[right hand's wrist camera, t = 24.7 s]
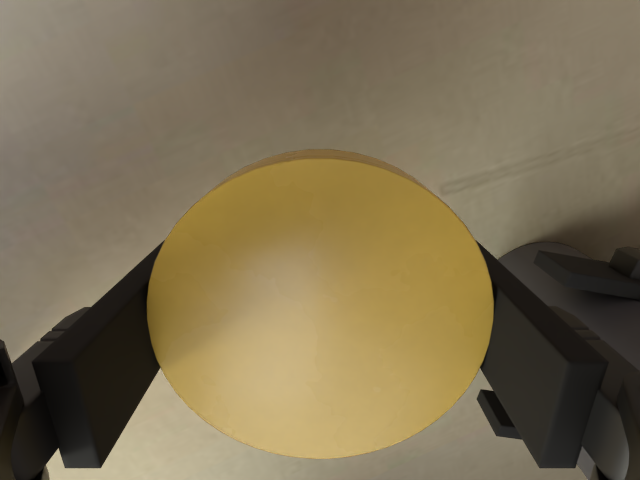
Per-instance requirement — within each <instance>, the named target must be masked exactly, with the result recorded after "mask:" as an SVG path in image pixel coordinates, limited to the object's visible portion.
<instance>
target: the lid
mask: <svg viewBox="0 0 640 480" xmlns="http://www.w3.org/2000/svg"><path fill="white" fill-rule="evenodd" d="M493 317H494V298H493V290H492V282H491V279H490V275H489V272H488V268H487V265H486V261H485V259H484V257H483V255H482V253H481V251H480V248H479V246H478V244H477V242H476V241H475V239H474V238H473V236H472V235H471V233H470V232H469V230H468V229H467V227H466V226H465V224H464V223H463V222H462V221H461V220H460V218H459V217H458V216H457V215H456V214H455V213H454V212H453V211H452V210H451V209H450V208H449V206H447V205H446V204H445V203H444V202H443V201H441V200H440V199H439V198H438V197H437V196H436V195H434V194H433V193H432V192H431V191H430V190H428V189H427V188H426V187H425V186H423V185H422V184H421V183H420V182H419V181H417V180H416V179H415V178H413V177H412V176H410V175H408V174H407V173H405V172H403V171H402V170H400V169H398V168H397V167H395V166H392V165H390V164H388V163H385V162H383V161H381V160H378V159H376V158H372V157H369V156H365V155H361V154H358V153H354V152H347V151H339V150H332V149H309V150H301V151H294V152H286V153H283V154H279V155H275V156H272V157H268V158H264V159H262V160H260V161H257V162H255V163H253V164H250V165H248V166H246V167H244V168H242V169H240V170H239V171H237V172H235V173H234V174H232V175H230V176H229V177H227V178H226V179H224V180H223V181H222V182H221V183H219V184H218V185H217V186H216V187H215V188H213V189H212V190H211V191H210V192H208V193H207V194H206V195H205V196H204V197H202V198H201V199H200V200H199V201H198V202H197V203H195V204H194V205H193V206H192V207H191V208H190V209H189V210H188V211H187V212H186V213H185V215H184V216H183V217H182V218H181V219H180V220H179V221H178V222H177V223H176V225H175V226H174V228H173V229H172V231H171V232H170V234H169V235H168V237H167V238H166V240H165V241H164V243H163V245H162V247H161V249H160V252H159V254H158V256H157V258H156V260H155V263H154V266H153V270H152V273H151V277H150V280H149V286H148V294H147V322H148V327H149V333H150V338H151V343H152V347H153V350H154V353H155V356H156V359H157V361H158V363H159V365H160V367H161V369H162V371H163V373H164V375H165V377H166V378H167V380H168V381H169V383H170V384H171V386H172V387H173V389H174V390H175V392H176V393H177V394H178V395H179V396H180V397H181V399H182V400H183V401H184V402H185V403H186V404H187V405H188V407H190V408H191V409H192V410H193V411H194V412H195V413H196V414H197V415H199V416H200V417H201V418H202V419H203V420H204V421H206V422H207V423H209V424H210V425H212V426H213V427H214V428H216V429H217V430H219V431H221V432H222V433H224V434H226V435H228V436H230V437H231V438H233V439H235V440H237V441H240V442H242V443H244V444H247V445H249V446H252V447H254V448H257V449H261V450H264V451H267V452H271V453H275V454H280V455H285V456H290V457H299V458H309V459H331V458H342V457H351V456H356V455H361V454H366V453H370V452H373V451H377V450H380V449H383V448H387V447H389V446H391V445H394V444H396V443H399V442H401V441H403V440H406V439H407V438H409V437H411V436H413V435H415V434H417V433H418V432H420V431H422V430H423V429H425V428H426V427H428V426H429V425H430V424H432V423H433V422H435V421H436V420H438V419H439V418H440V417H441V416H442V415H443V414H444V413H445V412H447V411H448V410H449V409H450V408H451V407H452V406H453V405H454V404H455V403H456V402H457V400H458V399H459V398H460V397H461V396H462V395H463V394H464V392H465V391H466V390H467V388H468V387H469V385H470V384H471V382H472V381H473V379H474V378H475V376H476V374H477V372H478V370H479V368H480V366H481V364H482V362H483V360H484V357H485V354H486V351H487V349H488V346H489V341H490V335H491V330H492V324H493Z"/></svg>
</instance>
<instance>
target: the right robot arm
mask: <svg viewBox="0 0 640 480" xmlns="http://www.w3.org/2000/svg"><path fill="white" fill-rule="evenodd" d="M164 241H165V240H164ZM164 241H163V242H162V243H161V244H160V245H159V246H158V247H156V248H155V249H154V250H153V251H152V252H151V253H150V254H149V255H148V256H147V257H146V258H144V259H143V260H142V261H141V262H140V263H139V264H138V265H137V266H136V267H135V268H134V269H132V270H131V271H130V272H129V273H128V274H127V275H126V276H125V277H124V278H123V279H121V280H120V281H119V282H118V283H117V284H116V285H115V286H114V287H113V288H112V289H111V290H109V291H108V292H107V293H106V294H105V295H104V296H103V297H102V298H101V299H100V300H99V301H97V302H96V303H95V304H94V305H93V306H92V307H84V308H82V309H80V310H78V311H76V312H75V313H73V314H71V315H69V316H67V317H65V318H64V319H63V320H62V321H61V322H59V323H58V324H57V325H56V326H55V327H54V328H52V331H49V332H48V333H47V334H46V335H44V336H43V337H42V338H41V340H40V341H37V342H36V343H35V344H34V345H33V346H32V347H30V348H29V349H28V350H27V351H26V352H25V353H23V354H22V355H21V356H20V357H19V358H18V359H16V360H15V361H14V362H13V363H12V364H11V361H10V358H9V355H8V352H7V349H6V346H5V343H4V341H2V340H0V480H49V473H48V470H47V467H46V464H47V462H48V461H49V460H50V458H51V457H52V456H53V454H54V453H55V452H56V450H57V449H58V448H59V451H60V454H61V457H62V460H63V463H64V466H65V468H101V467H102V465H103V463H104V462H105V460H106V458H107V457H108V455H109V453H110V452H111V450H112V448H113V447H114V445H115V443H116V442H117V440H118V438H119V436H120V435H121V433H122V431H123V430H124V428H125V426H126V425H127V423H128V421H129V420H130V418H131V416H132V414H133V413H134V411H135V409H136V408H137V406H138V404H139V403H140V401H141V399H142V398H143V396H144V394H145V393H146V391H147V389H148V387H149V386H150V384H151V382H152V381H153V379H154V377H155V376H156V374H157V372H158V371H159V369H160V365H159V363H158V361H157V359H156V356H155V353H154V350H153V347H152V343H151V338H150V333H149V327H148V322H147V294H148V286H149V280H150V277H151V273H152V270H153V266H154V263H155V260H156V258H157V256H158V254H159V252H160V249H161V247H162V245H163V243H164ZM475 241H476V240H475ZM476 242H477V241H476ZM477 244H478V246H479V248H480V251H481V253H482V255H483V257H484V259H485V261H486V265H487V268H488V272H489V275H490V279H491V282H492V290H493V298H494V317H493V324H492V330H491V335H490V341H489V346H488V349H487V351H486V354H485V357H484V360H483V362H482V364H481V366H480V368H481V370H482V372H483V374H484V375H485V377H486V379H487V380H488V382H489V384H490V385H491V387H492V389H493V390H494V392H495V394H496V396H497V397H498V399H499V401H500V402H501V404H502V406H503V407H504V409H505V411H506V412H507V414H508V416H509V417H510V419H511V421H512V423H513V424H514V426H515V428H516V429H517V431H518V433H519V434H520V436H521V438H522V439H523V441H524V443H525V444H526V446H527V448H528V450H529V451H530V453H531V455H532V456H533V458H534V460H535V461H536V463H537V465H538V466H539V468H575V467H576V464H577V461H578V458H579V455H580V452H581V448H582V447H583V448H584V449H585V450H586V452H587V453H588V454H589V456H590V457H591V458H592V460H593V461H594V462H595V464H594V467H593V470H592V473H591V476H590V479H589V480H640V371H639V370H638V369H637V368H635V367H634V366H633V365H632V364H631V363H630V362H628V361H627V360H626V359H625V358H624V357H623V356H621V355H620V354H619V353H618V352H617V351H616V350H614V349H613V348H612V347H611V346H610V345H609V344H607V343H606V342H605V341H604V340H601V339H600V337H599V336H598V335H597V334H596V333H595V332H593V331H592V330H589V327H588V326H586V325H585V324H584V323H583V322H582V321H580V320H579V319H578V318H577V317H576V316H574V315H572V314H571V313H569V312H567V311H565V310H563V309H561V308H559V307H557V306H547V305H546V304H545V303H544V302H543V301H542V300H541V299H540V298H538V297H537V296H536V295H535V294H534V293H533V292H532V291H531V290H530V289H529V288H528V287H526V286H525V285H524V284H523V283H522V282H521V281H520V280H519V279H518V278H517V277H516V276H514V275H513V274H512V273H511V272H510V271H509V270H508V269H507V268H506V267H505V266H503V265H502V264H501V263H500V262H499V261H498V260H497V259H496V258H495V257H494V256H493V255H491V254H490V253H489V252H488V251H487V250H486V249H485V248H484V247H483V246H482V245H480V244H479V243H478V242H477Z"/></svg>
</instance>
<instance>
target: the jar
mask: <svg viewBox="0 0 640 480" xmlns="http://www.w3.org/2000/svg"><path fill="white" fill-rule="evenodd" d="M538 250H541V251H547V252H553V253H558V254H564V255H569V256H575V257H581V258H586V259H591V258H590V257H588V256H586V255H584V254H583V253H581V252H579V251H578V250H576V249H574V248H572V247H570V246H567V245H565V244H560V243H554V242H539V243H533V244H529V245H525V246H522V247H519V248H517V249H515V250H513V251H511V252H509V253H507V254H506V255H504V256H503V257H501V258H500V259H499V260H498V261H499V262H500V263H501V264H502V265H503V266H505V267H506V268H507V269H508V270H509V271H510V272H511V273H512V274H513V275H514V276H516V277H517V278H518V279H519V280H520V281H521V282H522V283H523V284H524V285H525V286H526V287H528V288H529V289H530V290H531V291H532V292H533V293H534V294H535V295H536V296H537V297H538V298H540V299H541V300H542V301H543V302H544V303H545V304H546V305H547V306H557V307H559V308H561V309H563V310H565V311H567V312H569V313H571V314H572V315H574V316H576V317H577V318H578V319H579V320H580V321H582V322H583V323H584V324H585V325H586V326H588V327H589V330H592V331H593V332H595V333H596V334H597V335H598V336H599V337H600V339H601V340H604V341H605V342H606V343H607V344H609V345H610V346H611V347H612V348H613V349H614V350H616V351H617V352H618V353H619V354H620V355H621V356H623V357H624V358H625V359H626V360H627V361H628V362H630V363H631V364H632V365H633V366H634V367H635V368H637V369H638V370H639V371H640V300H638V299H632V298H626V297H620V296H615V295H609V294H603V293H597V292H591V291H586V290H580V289H574V288H568V287H564V286H563V285H561V284H560V283H559V282H558V281H556V280H555V279H554V278H552V277H551V276H550V275H548V274H547V273H546V272H544V271H543V270H542V269H540V268H539V267H538V266H536V265H535V264H534V263H533V262H534V260H535V258H536V255H537V253H538ZM592 260H593V259H592ZM594 464H595V462H594V461H593V460H592V458H591V457H590V456H589V454H588V453H587V452H586V450H585V449H584V448H583V447H582V448H581V452H580V455H579V458H578V461H577V465H578V466H579V468H580V469H581V470H582V472H583V473H584V475H585V476H586V477H587V479H588V480H589V479H590V476H591V473H592V470H593V467H594Z"/></svg>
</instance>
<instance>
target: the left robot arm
mask: <svg viewBox="0 0 640 480" xmlns="http://www.w3.org/2000/svg"><path fill="white" fill-rule="evenodd" d="M533 263H534V264H535V265H536V266H538V267H539V268H540V269H542V270H543V271H544V272H546V273H547V274H548V275H550V276H551V277H552V278H554V279H555V280H556V281H558V282H559V283H560V284H561V285H563V286H564V287H568V288H574V289H580V290H586V291H591V292H597V293H603V294H609V295H615V296H620V297H626V298H632V299H638V300H640V249H636V248H631V247H624V248H619V249H616V251H615V253H614V255H613V257H612V259H611V261H610V263H609V262H603V261H597V260H592V259H586V258H581V257H575V256H569V255H564V254H558V253H553V252H547V251H541V250H538V253H537V255H536V258H535V260H534V262H533ZM477 401H478V402H479V404H480V406H481V408H482V410H483V412H484V414H485V416H486V417H487V419H488V421H489V423H490V425H491V427H492V429H493V431H494V432H495V434H496V436H500V437H508V438H515V439H522V438H521V436H520V434H519V433H518V431H517V429H516V428H515V426H514V424H513V423H512V421H511V419H510V417H509V416H508V414H507V412H506V411H505V409H504V407H503V406H502V404H501V402H500V401H499V399H498V397H497V396H496V394H495V392H494V391H489V390H482V389H481V390H480V392H479V395H478V397H477ZM522 440H523V439H522Z"/></svg>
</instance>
